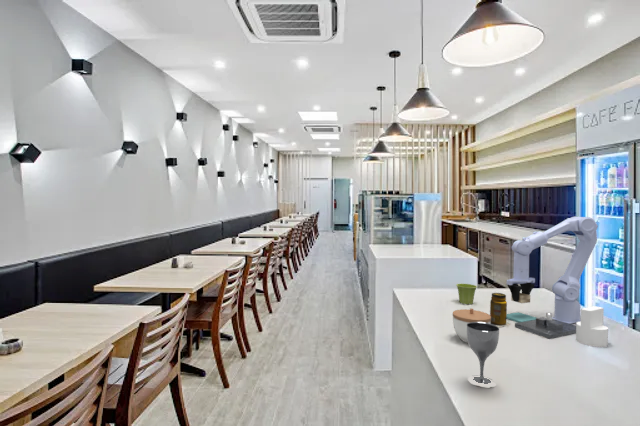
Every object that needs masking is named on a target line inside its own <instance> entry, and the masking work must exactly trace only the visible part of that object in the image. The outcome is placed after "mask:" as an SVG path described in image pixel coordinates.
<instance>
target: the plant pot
mask: <svg viewBox="0 0 640 426" xmlns="http://www.w3.org/2000/svg"><path fill="white" fill-rule="evenodd" d="M455 286H456V289H457V292H458V299H459V301H458V302H459V303H460V304H462V305H463V304H464V305H473V303H474V298H475V295H476V294H475V293H476V290H477V289H476V288H478V286H477V285H475V284H472V283H471V284H469V283H457V284H455Z"/></svg>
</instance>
